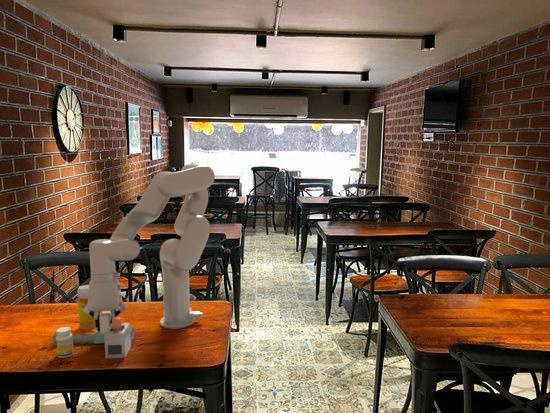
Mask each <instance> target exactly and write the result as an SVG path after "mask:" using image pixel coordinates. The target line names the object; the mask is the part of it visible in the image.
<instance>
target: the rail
mask: <svg viewBox="0 0 550 413" xmlns="http://www.w3.org/2000/svg"><path fill="white" fill-rule="evenodd" d="M130 334H131V343H132V342H133V340H134V338H135V326H133V325H131V326H130ZM93 335H94V333H81V334H80V333H77V334H72V338H73V345H81V344H82V345H83V344H84V345H85V344H95V343H94V338H93ZM56 336H57V331H56V332H55V333H54V334H53V335H52V343H53V347H57V346H56Z"/></svg>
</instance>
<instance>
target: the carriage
mask: <svg viewBox="0 0 550 413" xmlns="http://www.w3.org/2000/svg"><path fill="white" fill-rule="evenodd" d="M101 312H102V313H100V316H99V319H100V331H97V329H96V330H95V332H94V333H93V334H94V335H93V338H94V343H93V344H105V341H104V334H105V332H106V331H107V329H108V328H109V326H110V325H111V322H110V320H111V317H112V316H111V312H110V311H101Z"/></svg>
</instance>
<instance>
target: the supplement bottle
mask: <svg viewBox="0 0 550 413" xmlns="http://www.w3.org/2000/svg"><path fill="white" fill-rule="evenodd" d="M56 332H57V336H56V346H55V347H56V355H57V357H58V358H59V359H60V358H62V359H63V358H68V357H71V356H73V354H74V353H75V352H74V344H73V338H72V335H73V334H72V330H71V327H70V326H69V327H68V326H63V327H60V328H57V330H56Z"/></svg>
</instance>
